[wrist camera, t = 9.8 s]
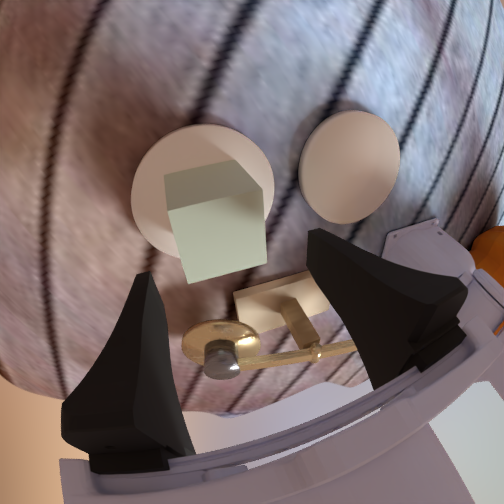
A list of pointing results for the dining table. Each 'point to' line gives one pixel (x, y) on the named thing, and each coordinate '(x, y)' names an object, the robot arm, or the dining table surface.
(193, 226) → the block
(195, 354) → the balance beam
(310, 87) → the dining table surface
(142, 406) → the robot arm
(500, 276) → the decorative pumpkin
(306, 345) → the balance stand
